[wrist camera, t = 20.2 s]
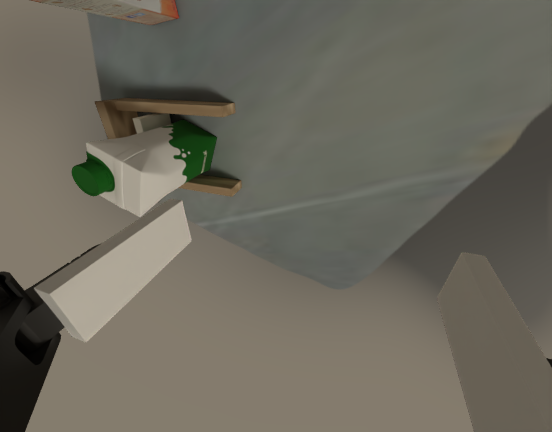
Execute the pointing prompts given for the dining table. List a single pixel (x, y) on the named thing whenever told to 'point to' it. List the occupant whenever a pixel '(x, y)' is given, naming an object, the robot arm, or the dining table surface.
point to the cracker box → (124, 9)
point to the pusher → (151, 122)
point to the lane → (122, 111)
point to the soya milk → (145, 165)
